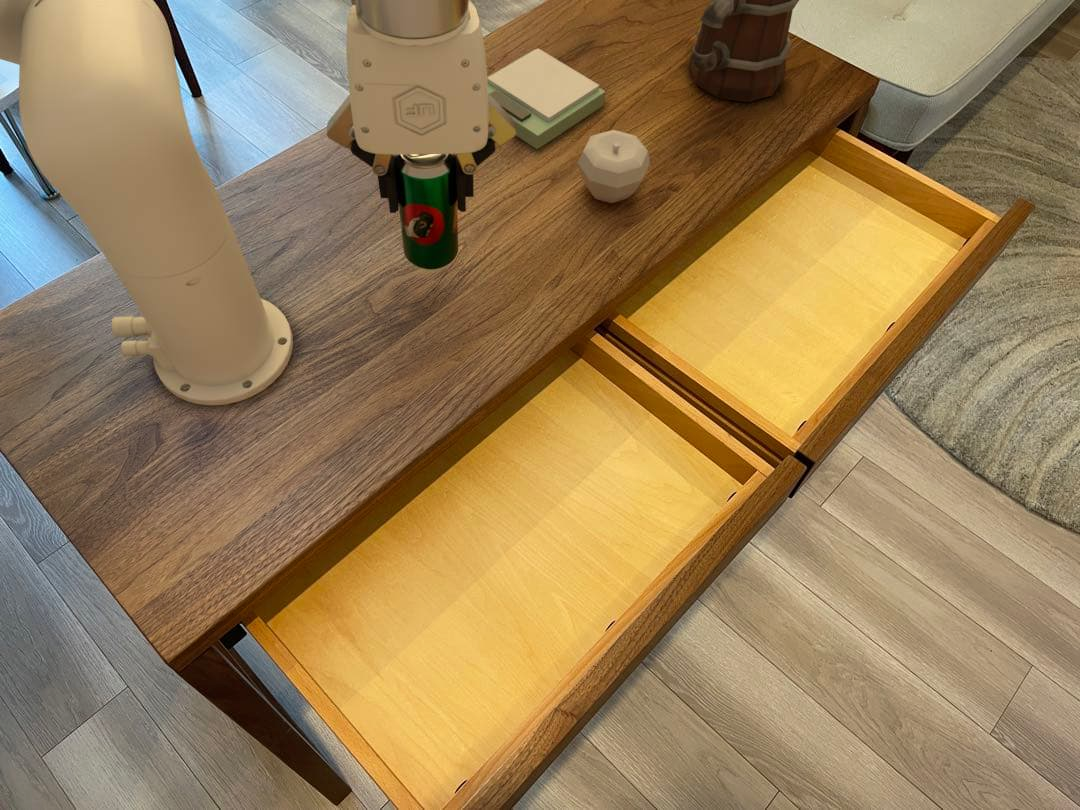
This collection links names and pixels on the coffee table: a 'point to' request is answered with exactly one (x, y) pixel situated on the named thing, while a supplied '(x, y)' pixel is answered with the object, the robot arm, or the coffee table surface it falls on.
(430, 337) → the coffee table surface
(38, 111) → the robot arm
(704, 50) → the mug
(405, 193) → the soda can
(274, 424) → the coffee table surface
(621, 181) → the white apple
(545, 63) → the scale
